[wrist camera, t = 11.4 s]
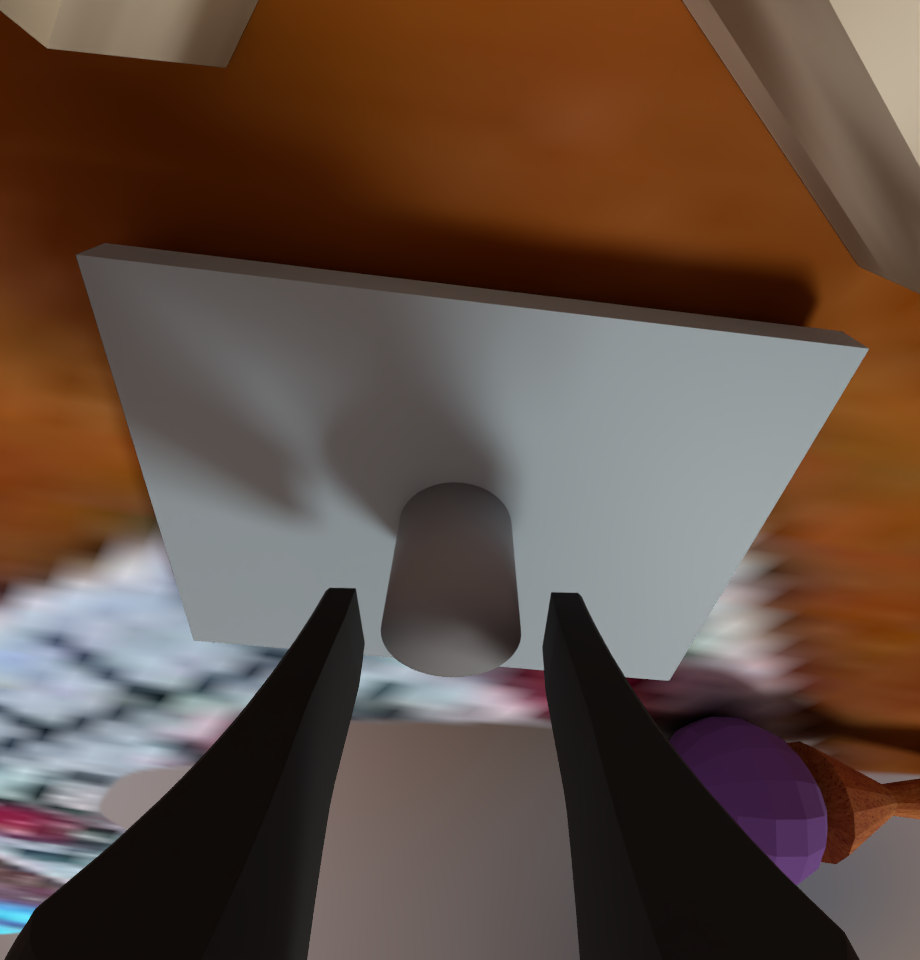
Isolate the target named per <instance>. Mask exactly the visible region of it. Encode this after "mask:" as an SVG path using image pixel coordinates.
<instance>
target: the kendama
mask: <svg viewBox="0 0 920 960" xmlns="http://www.w3.org/2000/svg"><path fill="white" fill-rule="evenodd" d="M669 742H670V743H671V745H672V746H673V747H674V749H675V750H676V751H677V752H678V754H679V755H680V756H681V758H682V759H683V760H684V762H685V763H686V764H687V765H688V767H689V768H690V769H691V770H692V771H693V773H694V774H695V775H696V776H697V778H698V779H699V780H700V781H701V783H702V784H703V785H704V786H705V787H706V789H707V790H708V791H709V792H710V793H711V794H712V796H713V797H714V798H715V799H716V800H717V801H718V802H719V803H720V805H721V806H722V807H723V808H724V809H725V810H726V811H727V812H728V814H729V815H730V816H731V817H732V818H733V819H734V820H735V821H736V823H737V824H738V825H739V826H740V827H741V828H742V829H743V830H744V832H745V833H746V834H747V835H748V836H749V837H750V838H751V839H752V841H753V842H754V843H755V844H756V845H757V846H758V847H759V848H760V849H761V850H762V851H763V852H764V853H765V854H766V855H767V856H768V857H769V858H770V859H771V860H772V861H773V862H774V863H775V864H776V866H777V867H778V868H779V869H780V870H781V871H782V872H783V873H784V874H785V875H786V876H787V877H788V878H789V879H790V880H791V881H792V882H793V883H794V884H795V885H798V884H799V883H800V882H802V881H803V880H804V879H805V878H807V877H808V876H809V875H811V874H812V873H813V872H815V871H816V870H817V869H818V868H819V865H820V862H825V863H833V864H837V863H838V862H840V861H841V860H843V859H844V858H846V857H847V856H849V855H850V854H851V853H852V852H853V851H854V850H856V849H857V848H858V847H859V846H860V845H861V844H862V843H863V842H864V841H865V840H867V839H868V838H869V837H870V836H871V835H872V834H873V833H874V832H875V831H876V830H877V829H879V828H880V827H881V826H882V825H883V824H884V823H885V822H886V821H887V820H888V819H890V818H891V816H900V817H907V818H915V819H920V779H914V780H907V781H900V782H893V783H886V784H880V783H878V782H876V781H875V780H873V779H871V778H869V777H867V776H865V775H864V774H862V773H860V772H858V771H856V770H854V769H852V768H851V767H849V766H847V765H845V764H843V763H841V762H839V761H838V760H836V759H834V758H832V757H830V756H828V755H827V754H825V753H823V752H821V751H819V750H817V749H815V748H813V747H811V746H809V745H806V744H804V743H802V742H800V741H798V742H790V743H786V742H785V741H784V740H783V739H782V738H781V737H778V736H776V735H774V734H772V733H770V732H768V731H766V730H764V729H762V728H760V727H758V726H756V725H754V724H752V723H749V722H747V721H745V720H743V719H740V718H738V717H708V718H704V719H700V720H697V721H695V722H692V723H690V724H688V725H686V726H684V727H682V728H680V729H679V730H677V731H676V732H675V733H674V734H673V736H672V737H671V738H670V740H669Z"/></svg>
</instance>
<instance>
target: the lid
mask: <svg viewBox="0 0 920 960" xmlns="http://www.w3.org/2000/svg"><path fill="white" fill-rule="evenodd" d="M76 258H77V261H78V264H79V267H80V271H81V274H82V277H83V280H84V284H85V287H86V290H87V293H88V297H89V300H90V303H91V306H92V310H93V313H94V316H95V320H96V323H97V326H98V329H99V333H100V336H101V339H102V342H103V346H104V349H105V352H106V355H107V359H108V362H109V365H110V368H111V372H112V375H113V378H114V382H115V385H116V388H117V391H118V395H119V398H120V401H121V404H122V408H123V411H124V414H125V417H126V421H127V424H128V427H129V430H130V434H131V437H132V440H133V443H134V447H135V450H136V453H137V457H138V460H139V463H140V466H141V470H142V473H143V476H144V479H145V483H146V486H147V489H148V492H149V496H150V499H151V502H152V505H153V509H154V512H155V515H156V519H157V522H158V525H159V528H160V532H161V535H162V538H163V541H164V545H165V548H166V551H167V554H168V558H169V561H170V564H171V567H172V571H173V574H174V577H175V580H176V584H177V587H178V590H179V594H180V597H181V600H182V603H183V607H184V610H185V613H186V616H187V620H188V623H189V626H190V629H191V633H192V636H193V639H194V640H195V641H206V642H218V643H230V644H242V645H253V646H265V647H277V648H290V647H291V645H292V644H293V642H294V641H295V640H296V638H297V636H298V635H299V633H300V632H301V630H302V629H303V627H304V626H305V624H306V623H307V621H308V620H309V618H310V616H311V615H312V613H313V612H314V610H315V608H316V607H317V605H318V603H319V602H320V600H321V598H322V596H323V595H324V593H325V591H326V590H327V589H329V588H356V592H357V598H358V604H359V610H360V617H361V623H362V629H363V635H364V641H365V646H364V654H363V655H371V656H383V657H394V658H395V659H397V660H398V661H399V662H401V663H402V664H404V665H406V666H408V667H410V668H412V669H414V670H417V671H419V672H422V673H426V674H430V675H435V676H442V677H465V676H472V675H477V674H481V673H484V672H487V671H490V670H493V669H495V668H497V667H498V666H500V667H512V668H524V669H535V670H544V664H543V650H542V646H543V639H544V633H545V627H546V621H547V615H548V609H549V603H550V597H551V592H564V593H579V594H580V595H581V596H582V598H583V600H584V603H585V605H586V607H587V609H588V611H589V613H590V615H591V617H592V619H593V621H594V623H595V625H596V627H597V629H598V631H599V633H600V635H601V636H602V638H603V640H604V642H605V644H606V646H607V647H608V649H609V651H610V653H611V654H612V656H613V658H614V659H615V661H616V663H617V664H618V666H619V668H620V669H621V671H622V673H623V674H624V676H625V677H629V678H641V679H653V680H665V681H669V680H670V679H671V677H672V675H673V674H674V672H675V670H676V669H677V667H678V665H679V664H680V662H681V660H682V659H683V657H684V655H685V654H686V652H687V650H688V649H689V647H690V645H691V644H692V642H693V640H694V639H695V637H696V635H697V634H698V632H699V630H700V629H701V627H702V625H703V624H704V622H705V620H706V619H707V617H708V615H709V614H710V612H711V611H712V609H713V607H714V606H715V604H716V602H717V601H718V599H719V597H720V596H721V594H722V592H723V591H724V589H725V587H726V586H727V584H728V582H729V581H730V579H731V577H732V576H733V574H734V572H735V571H736V569H737V567H738V566H739V564H740V562H741V561H742V559H743V557H744V556H745V554H746V552H747V551H748V549H749V547H750V546H751V544H752V542H753V541H754V539H755V537H756V536H757V534H758V532H759V531H760V529H761V527H762V526H763V524H764V522H765V521H766V519H767V517H768V516H769V514H770V513H771V511H772V509H773V508H774V506H775V504H776V503H777V501H778V499H779V498H780V496H781V494H782V493H783V491H784V489H785V488H786V486H787V484H788V483H789V481H790V479H791V478H792V476H793V474H794V473H795V471H796V469H797V468H798V466H799V464H800V463H801V461H802V459H803V458H804V456H805V454H806V453H807V451H808V449H809V448H810V446H811V444H812V443H813V441H814V439H815V438H816V436H817V434H818V433H819V431H820V429H821V428H822V426H823V424H824V423H825V421H826V420H827V418H828V416H829V415H830V413H831V411H832V410H833V408H834V406H835V405H836V403H837V401H838V400H839V398H840V396H841V395H842V393H843V391H844V390H845V388H846V386H847V385H848V383H849V381H850V380H851V378H852V376H853V375H854V373H855V371H856V370H857V368H858V366H859V365H860V363H861V361H862V360H863V358H864V356H865V355H866V353H867V351H868V350H869V348H867V347H866V346H864V345H862V344H861V343H859V342H858V341H856V340H855V339H853V338H851V337H850V336H848V335H847V334H845V333H844V332H842V331H835V330H826V329H818V328H810V327H801V326H793V325H785V324H776V323H768V322H760V321H751V320H743V319H735V318H726V317H718V316H710V315H701V314H693V313H685V312H676V311H668V310H660V309H651V308H643V307H635V306H626V305H618V304H610V303H601V302H593V301H585V300H576V299H568V298H560V297H551V296H543V295H535V294H526V293H518V292H509V291H501V290H493V289H484V288H476V287H468V286H459V285H451V284H443V283H434V282H426V281H418V280H409V279H401V278H393V277H384V276H376V275H368V274H359V273H351V272H343V271H334V270H326V269H318V268H309V267H301V266H293V265H284V264H276V263H268V262H259V261H251V260H243V259H234V258H226V257H218V256H209V255H201V254H193V253H184V252H176V251H167V250H159V249H151V248H142V247H134V246H126V245H117V244H109V243H104V244H101V245H99V246H96V247H94V248H91V249H89V250H86V251H84V252H81V253H79V254H76Z"/></svg>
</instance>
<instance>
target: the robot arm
mask: <svg viewBox="0 0 920 960" xmlns="http://www.w3.org/2000/svg"><path fill="white" fill-rule="evenodd" d="M364 646H365V641H364V635H363V629H362V623H361V617H360V610H359V604H358V598H357V592H356V588H329V589H327V590H326V591H325V593H324V595H323V596H322V598H321V600H320V602H319V603H318V605H317V607H316V608H315V610H314V612H313V613H312V615H311V616H310V618H309V620H308V621H307V623H306V624H305V626H304V627H303V629H302V630H301V632H300V633H299V635H298V636H297V638H296V640H295V641H294V642H293V644H292V645H291V647H290V648H289V650H288V651H287V652H286V654H285V655H284V657H283V658H282V660H281V661H280V662H279V664H278V665H277V667H276V668H275V669H274V671H273V672H272V674H271V675H270V676H269V677H268V679H267V680H266V681H265V683H264V684H263V685H262V687H261V688H260V689H259V690H258V692H257V693H256V694H255V696H254V697H253V698H252V699H251V701H250V702H249V703H248V705H247V706H246V707H245V708H244V709H243V711H242V712H241V713H240V714H239V715H238V717H237V718H236V719H235V720H234V721H233V723H232V724H231V725H230V726H229V727H228V728H227V730H226V731H225V732H224V733H223V734H222V735H221V736H220V738H219V739H218V740H217V741H216V742H215V743H214V744H213V745H212V747H211V748H210V749H209V750H208V751H207V752H206V753H205V754H204V755H203V756H202V757H201V758H200V759H199V760H198V761H197V763H196V764H195V765H194V766H193V767H192V768H191V769H190V770H189V771H188V772H187V773H186V774H185V775H184V776H183V777H182V778H181V779H180V780H179V781H178V782H177V783H176V784H175V785H174V787H172V788H171V789H170V791H168V792H167V793H166V794H165V795H164V796H163V797H162V798H161V799H160V800H159V801H158V802H157V803H156V804H155V805H154V806H153V807H152V808H150V809H149V810H148V811H147V812H146V813H145V814H144V815H143V816H142V817H141V818H140V819H139V820H138V821H137V822H135V823H134V825H132V826H131V827H130V828H129V829H128V830H127V831H126V832H125V833H124V834H122V835H121V836H120V837H119V838H118V839H117V840H116V841H115V842H114V843H113V844H112V845H110V846H109V847H108V848H107V849H106V850H105V851H104V852H102V853H101V854H100V855H99V856H98V857H97V858H95V859H94V860H93V861H92V862H91V863H89V864H88V865H87V866H86V867H85V868H83V869H82V870H81V871H80V872H79V873H78V874H76V875H75V876H74V877H73V878H72V879H70V880H69V881H68V882H67V883H66V884H64V885H63V886H62V887H61V888H60V889H58V890H57V891H56V892H55V893H54V894H53V895H51V896H50V897H49V898H48V899H47V900H45V901H44V902H43V903H42V904H40V905H39V906H38V907H37V908H36V909H35V910H34V912H33V914H32V915H31V917H30V919H29V920H28V922H27V923H26V925H25V926H24V928H23V929H22V931H21V932H20V934H19V935H18V937H17V938H16V940H15V942H14V943H13V945H12V947H11V949H10V950H9V952H8V954H7V956H6V958H5V960H307V956H308V949H309V941H310V934H311V927H312V919H313V912H314V905H315V898H316V891H317V885H318V878H319V871H320V865H321V858H322V850H323V845H324V839H325V833H326V826H327V820H328V814H329V808H330V803H331V798H332V793H333V789H334V784H335V780H336V775H337V772H338V768H339V764H340V760H341V756H342V752H343V748H344V744H345V740H346V736H347V732H348V728H349V724H350V720H351V716H352V712H353V708H354V704H355V700H356V696H357V692H358V688H359V682H360V675H361V668H362V661H363V654H364ZM542 650H543V664H544V677H545V689H546V696H547V701H548V707H549V712H550V718H551V723H552V729H553V734H554V739H555V745H556V750H557V756H558V761H559V767H560V772H561V777H562V783H563V788H564V795H565V801H566V809H567V817H568V828H569V837H570V847H571V858H572V869H573V880H574V892H575V903H576V915H577V927H578V941H579V954H580V960H859V958H858V956H857V954H856V952H855V950H854V949H853V947H852V945H851V943H850V941H849V940H848V938H847V936H846V934H845V932H843V930H842V929H841V928H840V927H839V926H838V925H836V924H835V923H834V922H833V921H832V920H831V919H830V918H829V917H828V916H827V915H826V914H825V913H824V912H823V911H822V910H821V909H820V908H819V907H818V906H816V904H815V903H813V902H812V901H811V900H810V899H809V898H808V897H807V896H806V895H805V894H804V893H803V892H802V891H801V890H800V889H799V888H798V887H797V886H796V885H795V884H794V883H793V882H792V881H791V880H790V879H789V878H788V877H787V876H786V875H785V874H784V873H783V872H782V871H781V870H780V869H779V868H778V867H777V866H776V864H775V863H774V862H773V861H772V860H771V859H770V858H769V857H768V856H767V855H766V854H765V853H764V852H763V851H762V850H761V849H760V848H759V847H758V846H757V845H756V844H755V843H754V842H753V841H752V839H751V838H750V837H749V836H748V835H747V834H746V833H745V832H744V830H743V829H742V828H741V827H740V826H739V825H738V824H737V823H736V821H735V820H734V819H733V818H732V817H731V816H730V815H729V814H728V812H727V811H726V810H725V809H724V808H723V807H722V806H721V805H720V803H719V802H718V801H717V800H716V799H715V798H714V797H713V796H712V794H711V793H710V792H709V791H708V790H707V789H706V787H705V786H704V785H703V784H702V783H701V781H700V780H699V779H698V778H697V776H696V775H695V774H694V773H693V771H692V770H691V769H690V768H689V767H688V765H687V764H686V763H685V762H684V760H683V759H682V758H681V756H680V755H679V754H678V752H677V751H676V750H675V749H674V747H673V746H672V745H671V743H670V742H669V741H668V739H667V738H666V737H665V735H664V734H663V733H662V731H661V730H660V728H659V727H658V726H657V724H656V723H655V721H654V720H653V719H652V717H651V716H650V714H649V713H648V711H647V710H646V708H645V707H644V705H643V704H642V702H641V701H640V699H639V698H638V696H637V695H636V693H635V692H634V690H633V689H632V687H631V686H630V684H629V682H628V681H627V679H626V677H625V676H624V674H623V673H622V671H621V669H620V668H619V666H618V664H617V663H616V661H615V659H614V658H613V656H612V654H611V653H610V651H609V649H608V647H607V646H606V644H605V642H604V640H603V638H602V636H601V635H600V633H599V631H598V629H597V627H596V625H595V623H594V621H593V619H592V617H591V615H590V613H589V611H588V609H587V607H586V605H585V603H584V600H583V598H582V596H581V595H580V594H579V593H564V592H551V597H550V603H549V609H548V615H547V621H546V627H545V633H544V639H543V646H542Z"/></svg>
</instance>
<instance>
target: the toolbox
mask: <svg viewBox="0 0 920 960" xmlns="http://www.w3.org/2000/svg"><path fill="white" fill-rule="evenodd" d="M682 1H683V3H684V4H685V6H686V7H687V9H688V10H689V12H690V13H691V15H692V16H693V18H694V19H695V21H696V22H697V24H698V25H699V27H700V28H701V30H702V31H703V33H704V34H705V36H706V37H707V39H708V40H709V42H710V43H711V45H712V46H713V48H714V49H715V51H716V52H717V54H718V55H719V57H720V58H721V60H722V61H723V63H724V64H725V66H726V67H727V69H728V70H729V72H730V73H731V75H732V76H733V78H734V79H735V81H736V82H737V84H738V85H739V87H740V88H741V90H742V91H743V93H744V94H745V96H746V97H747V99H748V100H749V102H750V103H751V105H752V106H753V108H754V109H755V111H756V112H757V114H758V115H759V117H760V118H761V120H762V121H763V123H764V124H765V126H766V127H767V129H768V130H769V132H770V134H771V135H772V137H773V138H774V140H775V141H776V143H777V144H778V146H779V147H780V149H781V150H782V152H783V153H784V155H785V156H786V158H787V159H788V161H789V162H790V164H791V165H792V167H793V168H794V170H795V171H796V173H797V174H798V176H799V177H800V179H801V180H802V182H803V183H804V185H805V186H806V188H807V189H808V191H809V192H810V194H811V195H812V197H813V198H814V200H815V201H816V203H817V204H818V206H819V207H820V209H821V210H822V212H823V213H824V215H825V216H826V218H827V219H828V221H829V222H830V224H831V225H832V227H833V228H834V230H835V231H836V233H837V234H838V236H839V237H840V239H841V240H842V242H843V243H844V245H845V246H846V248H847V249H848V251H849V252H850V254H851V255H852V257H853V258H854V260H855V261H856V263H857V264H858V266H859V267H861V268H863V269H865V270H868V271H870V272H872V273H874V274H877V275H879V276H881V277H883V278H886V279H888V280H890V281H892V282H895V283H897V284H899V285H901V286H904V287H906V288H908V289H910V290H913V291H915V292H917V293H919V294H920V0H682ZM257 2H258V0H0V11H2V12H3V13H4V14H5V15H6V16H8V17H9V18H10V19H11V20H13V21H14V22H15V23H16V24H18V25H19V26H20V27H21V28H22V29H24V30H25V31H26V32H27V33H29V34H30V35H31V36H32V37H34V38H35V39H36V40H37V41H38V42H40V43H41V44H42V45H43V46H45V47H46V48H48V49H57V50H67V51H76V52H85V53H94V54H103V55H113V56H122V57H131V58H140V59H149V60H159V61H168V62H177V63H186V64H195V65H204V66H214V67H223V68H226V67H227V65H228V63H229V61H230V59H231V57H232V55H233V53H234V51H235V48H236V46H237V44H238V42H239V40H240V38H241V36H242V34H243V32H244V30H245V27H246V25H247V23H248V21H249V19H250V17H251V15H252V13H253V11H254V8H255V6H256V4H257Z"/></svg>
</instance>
